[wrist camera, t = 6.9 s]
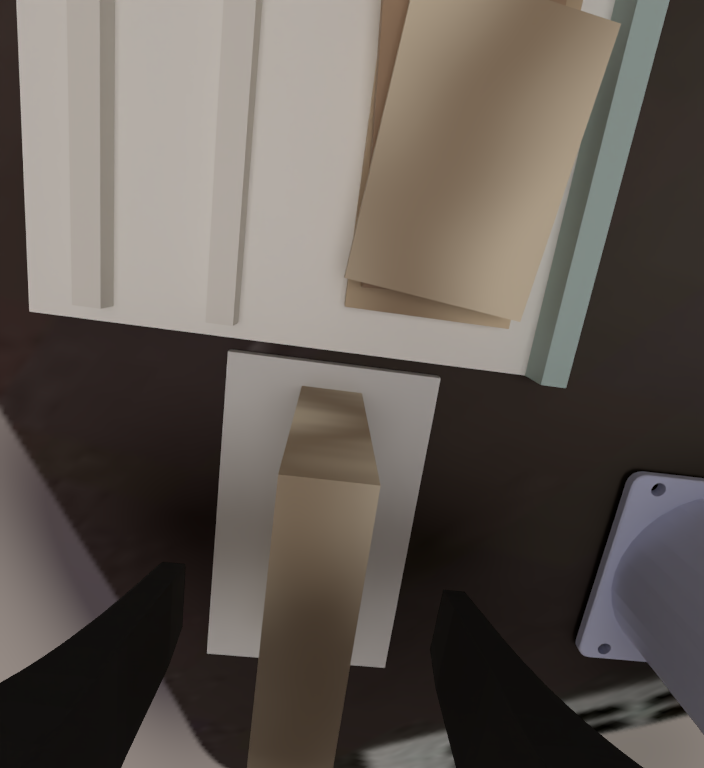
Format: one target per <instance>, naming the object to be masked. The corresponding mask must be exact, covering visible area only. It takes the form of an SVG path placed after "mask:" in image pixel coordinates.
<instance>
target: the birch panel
mask: <svg viewBox="0 0 704 768" xmlns="http://www.w3.org/2000/svg"><path fill="white" fill-rule="evenodd" d="M380 486H381V485H380V480H379V475H378V470H377V465H376V460H375V455H374V451H373V446H372V441H371V436H370V431H369V426H368V421H367V416H366V411H365V406H364V401H363V396H362V393H357V392H349V391H341V390H333V389H325V388H317V387H308V386H302V387H301V391H300V395H299V398H298V402H297V406H296V410H295V413H294V417H293V421H292V424H291V428H290V432H289V436H288V439H287V443H286V447H285V450H284V454H283V458H282V462H281V465H280V469H279V473H278V480H277V489H276V498H275V508H274V517H273V527H272V536H271V546H270V555H269V565H268V574H267V584H266V593H265V602H264V612H263V621H262V631H261V640H260V650H259V659H258V669H257V678H256V688H255V697H254V707H253V716H252V725H251V735H250V744H249V754H248V763H247V768H333V764H334V758H335V752H336V746H337V740H338V734H339V729H340V723H341V717H342V711H343V705H344V699H345V693H346V687H347V681H348V675H349V670H350V664H351V658H352V652H353V646H354V640H355V634H356V628H357V622H358V616H359V610H360V605H361V599H362V593H363V587H364V581H365V575H366V569H367V563H368V557H369V551H370V546H371V540H372V534H373V528H374V522H375V516H376V510H377V504H378V498H379V492H380Z"/></svg>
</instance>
